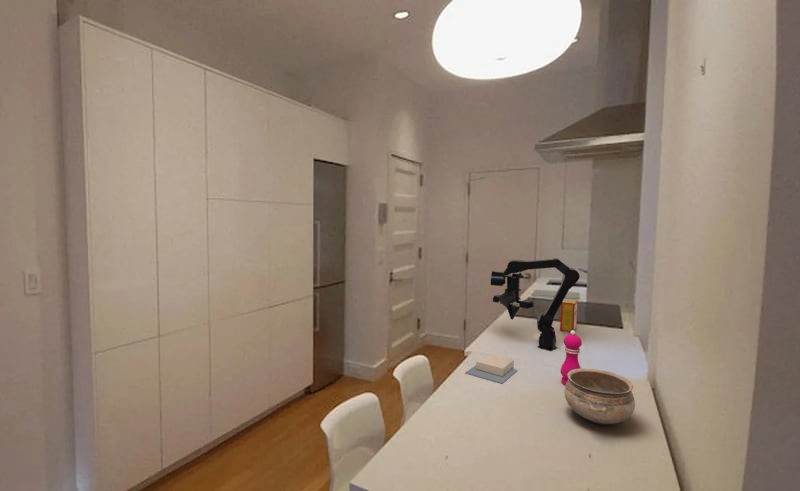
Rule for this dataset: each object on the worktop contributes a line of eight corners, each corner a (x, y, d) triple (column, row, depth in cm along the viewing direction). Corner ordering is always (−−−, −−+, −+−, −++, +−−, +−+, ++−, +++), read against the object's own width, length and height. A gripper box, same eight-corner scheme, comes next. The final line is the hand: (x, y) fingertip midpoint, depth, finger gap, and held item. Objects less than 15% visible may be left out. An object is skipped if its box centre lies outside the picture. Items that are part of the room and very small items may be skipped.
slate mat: (482, 361, 161) (482, 360, 161) (517, 370, 152) (517, 369, 152) (465, 373, 149) (465, 372, 149) (502, 384, 140) (502, 382, 140)
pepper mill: (581, 381, 142) (584, 329, 141) (581, 390, 136) (584, 334, 134) (560, 378, 145) (562, 326, 144) (559, 386, 139) (561, 331, 137)
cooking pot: (637, 450, 101) (640, 405, 100) (560, 431, 110) (562, 390, 109) (630, 407, 124) (632, 370, 123) (566, 394, 132) (567, 360, 131)
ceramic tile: (488, 353, 160) (476, 361, 152) (513, 359, 154) (502, 368, 145) (488, 361, 161) (476, 369, 152) (513, 367, 154) (502, 376, 145)
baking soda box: (573, 333, 201) (574, 303, 199) (559, 331, 204) (561, 301, 203) (576, 328, 209) (577, 299, 207) (563, 326, 212) (564, 298, 211)
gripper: (486, 285, 183) (485, 318, 184) (522, 292, 169) (520, 326, 170) (499, 283, 190) (498, 314, 191) (534, 288, 176) (533, 322, 178)
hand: (512, 319), depth 182 cm, fingers closed
